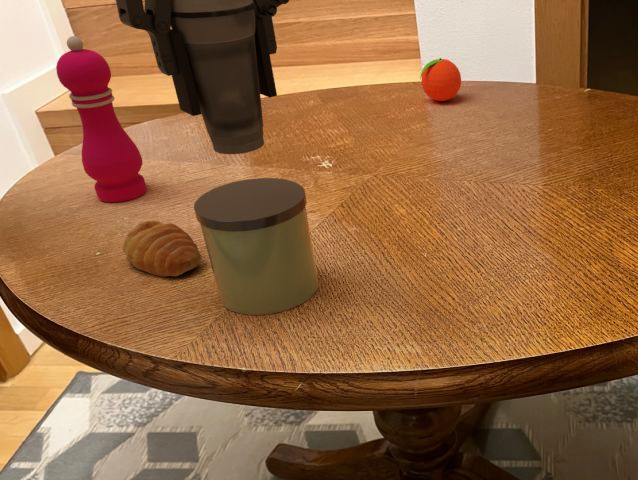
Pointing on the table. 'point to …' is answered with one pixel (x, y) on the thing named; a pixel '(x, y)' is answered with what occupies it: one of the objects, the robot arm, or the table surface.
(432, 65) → the clementine
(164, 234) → the pastry
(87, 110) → the pepper mill
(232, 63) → the beverage cup
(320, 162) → the table surface
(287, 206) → the jar
